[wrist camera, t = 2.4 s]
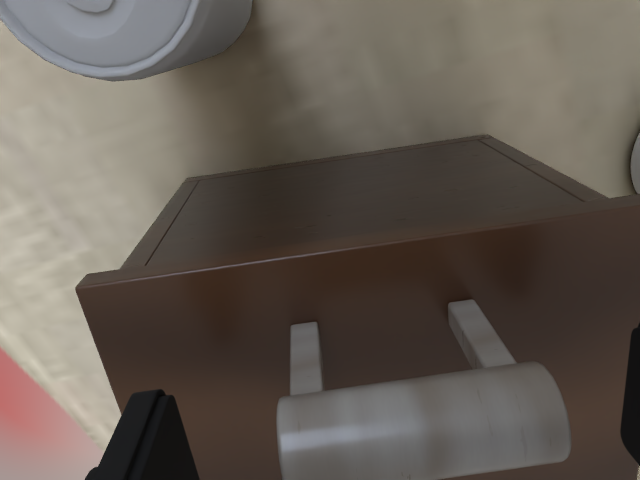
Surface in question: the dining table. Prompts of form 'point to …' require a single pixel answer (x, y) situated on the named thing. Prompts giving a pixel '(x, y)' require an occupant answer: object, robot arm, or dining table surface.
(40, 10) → the beverage can
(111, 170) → the dining table surface
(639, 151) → the bath foam
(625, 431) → the robot arm
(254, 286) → the lid
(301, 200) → the chest
